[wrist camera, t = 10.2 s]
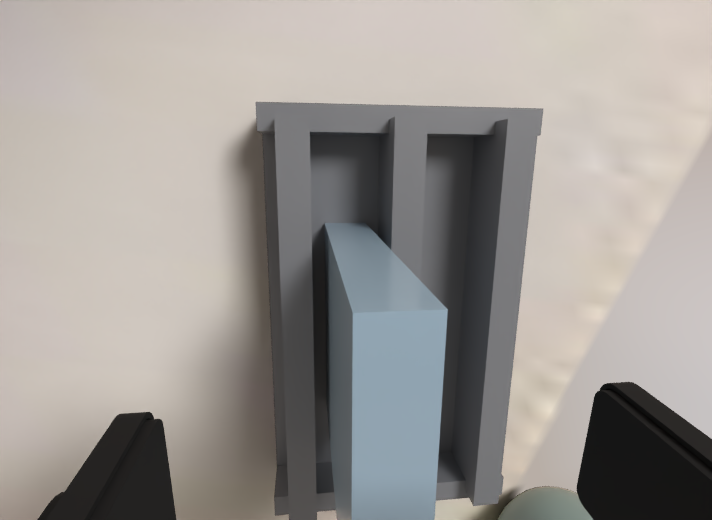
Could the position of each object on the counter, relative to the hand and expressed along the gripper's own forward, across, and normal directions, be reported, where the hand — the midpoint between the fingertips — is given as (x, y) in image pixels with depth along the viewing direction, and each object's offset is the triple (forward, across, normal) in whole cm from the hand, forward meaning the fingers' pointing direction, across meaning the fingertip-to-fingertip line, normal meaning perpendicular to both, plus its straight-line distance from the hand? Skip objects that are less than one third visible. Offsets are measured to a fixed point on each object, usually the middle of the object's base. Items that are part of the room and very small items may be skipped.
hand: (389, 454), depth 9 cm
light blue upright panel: (+11, 0, +2) cm, 11 cm away
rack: (+12, -2, +1) cm, 12 cm away
